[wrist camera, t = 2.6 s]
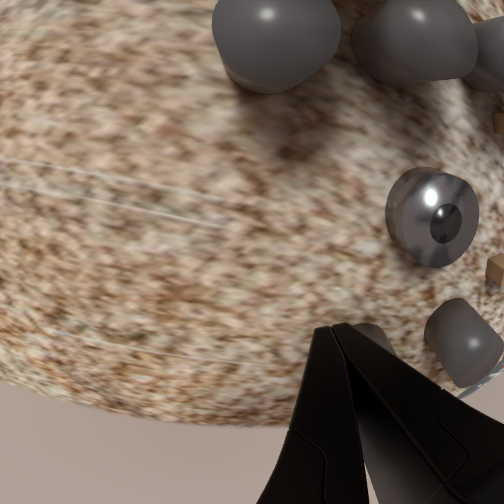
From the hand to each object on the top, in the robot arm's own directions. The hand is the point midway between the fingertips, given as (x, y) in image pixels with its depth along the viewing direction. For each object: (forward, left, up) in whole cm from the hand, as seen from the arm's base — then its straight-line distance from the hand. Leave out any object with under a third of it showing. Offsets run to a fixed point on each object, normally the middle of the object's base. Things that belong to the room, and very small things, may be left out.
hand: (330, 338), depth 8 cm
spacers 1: (-6, -8, -8) cm, 13 cm away
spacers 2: (-7, +9, -8) cm, 14 cm away
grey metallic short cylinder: (-7, 0, -8) cm, 11 cm away
